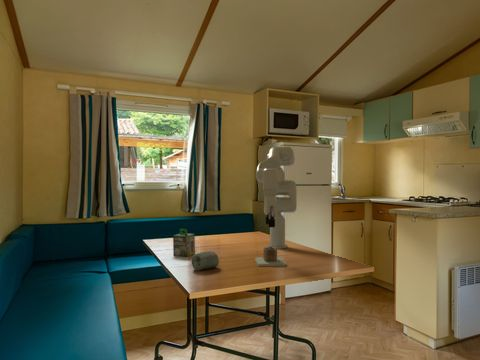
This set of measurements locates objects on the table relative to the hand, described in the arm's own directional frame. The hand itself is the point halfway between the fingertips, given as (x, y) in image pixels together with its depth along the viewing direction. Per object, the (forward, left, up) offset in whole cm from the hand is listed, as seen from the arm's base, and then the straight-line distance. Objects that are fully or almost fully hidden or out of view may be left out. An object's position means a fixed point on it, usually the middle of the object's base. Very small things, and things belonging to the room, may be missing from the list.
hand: (270, 225), depth 176 cm
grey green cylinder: (+10, -33, -19) cm, 40 cm away
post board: (0, 0, -19) cm, 19 cm away
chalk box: (-22, -46, -19) cm, 54 cm away
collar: (0, 0, -18) cm, 18 cm away
